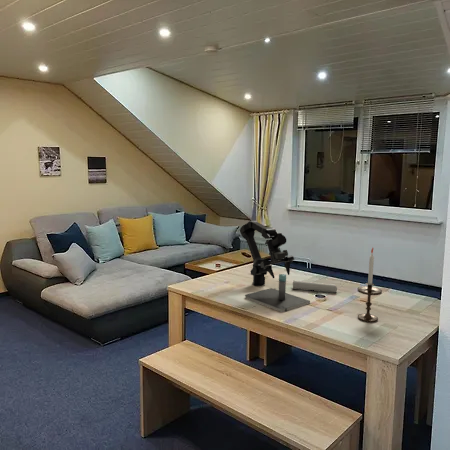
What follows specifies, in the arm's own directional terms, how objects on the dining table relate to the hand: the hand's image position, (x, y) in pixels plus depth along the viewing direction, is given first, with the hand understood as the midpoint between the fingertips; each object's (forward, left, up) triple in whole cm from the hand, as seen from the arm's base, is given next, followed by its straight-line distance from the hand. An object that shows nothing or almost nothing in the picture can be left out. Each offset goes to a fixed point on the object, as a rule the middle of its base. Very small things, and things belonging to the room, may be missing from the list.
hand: (281, 276), depth 232 cm
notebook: (-5, -10, -11) cm, 16 cm away
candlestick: (+33, -39, -11) cm, 52 cm away
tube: (+22, +7, -11) cm, 25 cm away
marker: (-2, -12, -9) cm, 15 cm away
